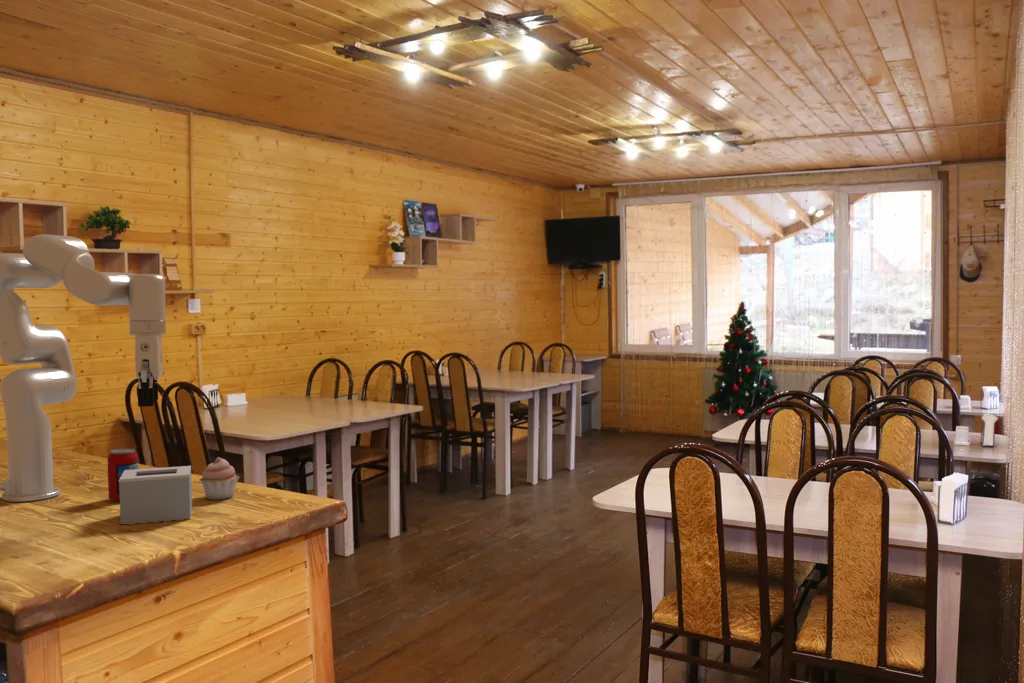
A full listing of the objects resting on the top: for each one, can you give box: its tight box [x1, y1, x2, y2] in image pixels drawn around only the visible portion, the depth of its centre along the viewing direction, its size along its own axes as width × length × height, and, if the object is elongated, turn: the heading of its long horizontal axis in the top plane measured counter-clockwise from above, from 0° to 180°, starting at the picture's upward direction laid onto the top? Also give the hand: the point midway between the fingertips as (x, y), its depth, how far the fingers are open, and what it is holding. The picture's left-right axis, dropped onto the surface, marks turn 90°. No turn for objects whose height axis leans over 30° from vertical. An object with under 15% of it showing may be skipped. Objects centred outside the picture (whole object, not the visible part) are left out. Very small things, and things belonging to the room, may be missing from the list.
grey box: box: [119, 465, 193, 525], centre depth 183 cm, size 14×10×10 cm
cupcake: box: [198, 456, 240, 501], centre depth 200 cm, size 9×9×10 cm
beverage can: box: [107, 447, 139, 502], centre depth 198 cm, size 7×7×12 cm
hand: (148, 403), depth 186 cm, fingers open, 9 cm apart
